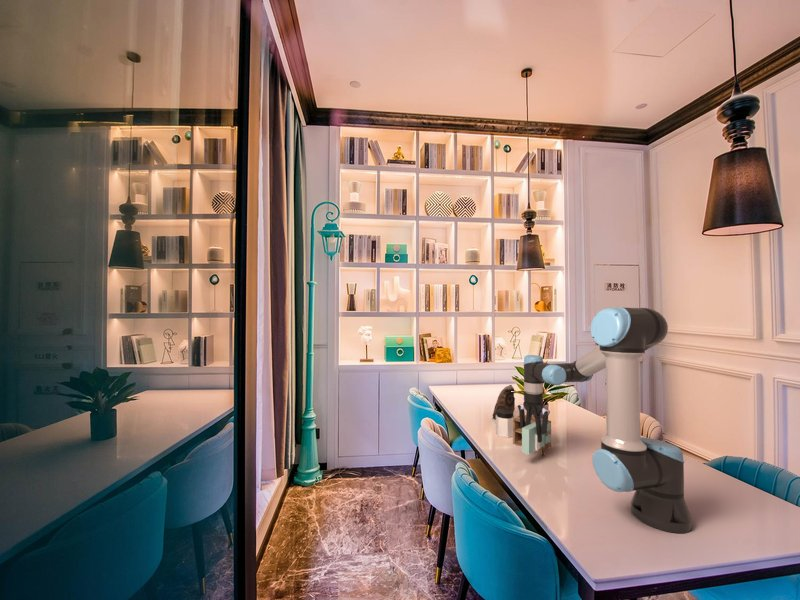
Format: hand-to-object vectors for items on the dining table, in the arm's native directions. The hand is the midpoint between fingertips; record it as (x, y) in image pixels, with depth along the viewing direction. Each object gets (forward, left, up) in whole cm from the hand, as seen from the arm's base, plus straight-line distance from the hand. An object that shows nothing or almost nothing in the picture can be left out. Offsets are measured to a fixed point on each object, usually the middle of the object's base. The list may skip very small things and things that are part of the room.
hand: (533, 448), depth 147 cm
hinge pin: (+9, 0, -6) cm, 11 cm away
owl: (+42, +38, -6) cm, 57 cm away
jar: (+20, +25, -6) cm, 33 cm away
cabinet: (+17, +9, -6) cm, 20 cm away
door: (+2, 0, 0) cm, 3 cm away
